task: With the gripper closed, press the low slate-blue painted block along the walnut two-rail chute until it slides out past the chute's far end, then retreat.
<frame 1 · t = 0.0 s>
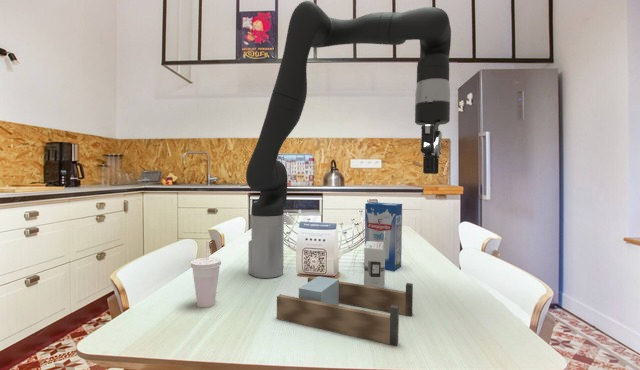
hand: (431, 173, 76), 29 cm above the table, fingers open, 8 cm apart
slate block: (319, 311, 70), on the table
ink box: (374, 292, 82), on the table
smoothie: (206, 305, 73), on the table
chute: (345, 316, 68), on the table
milk carton: (382, 267, 105), on the table
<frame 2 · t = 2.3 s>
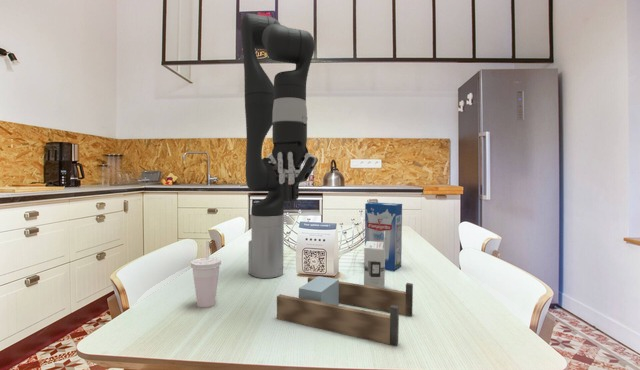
hand: (289, 201, 73), 23 cm above the table, fingers closed
nothing on the table moved.
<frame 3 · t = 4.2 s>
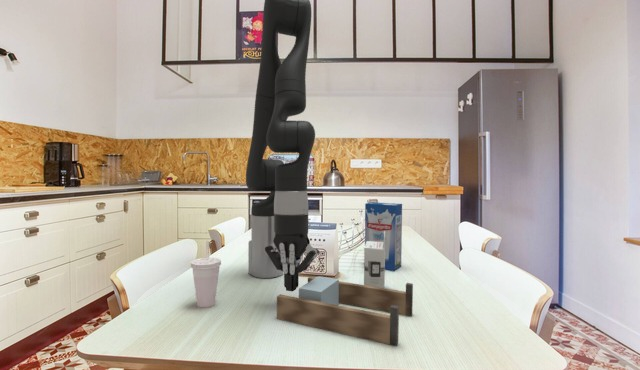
hand: (291, 290, 73), 3 cm above the table, fingers closed
nothing on the table moved.
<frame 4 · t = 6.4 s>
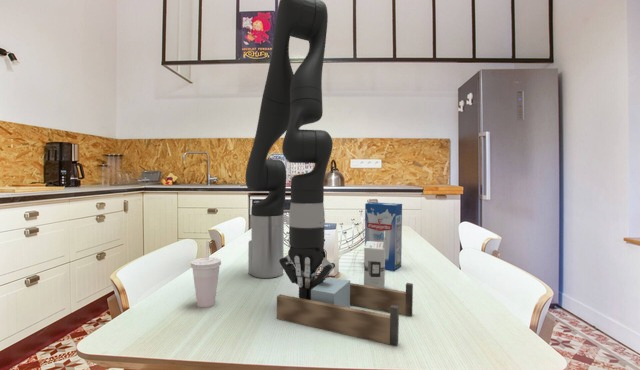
hand: (306, 303, 71), 1 cm above the table, fingers closed
slate block: (331, 313, 69), on the table, touching hand
everything else where it was.
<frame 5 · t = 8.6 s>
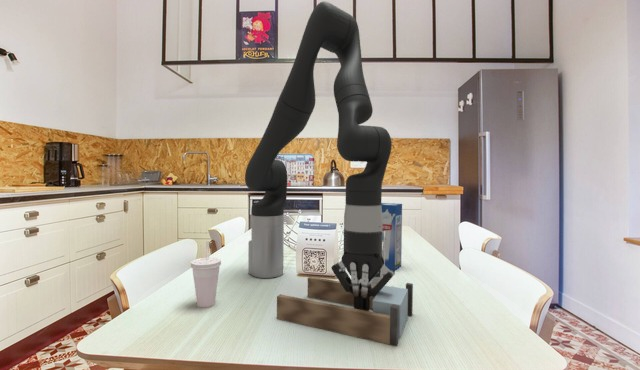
hand: (361, 314, 66), 1 cm above the table, fingers closed
slate block: (390, 325, 64), on the table, touching hand
everything else where it was.
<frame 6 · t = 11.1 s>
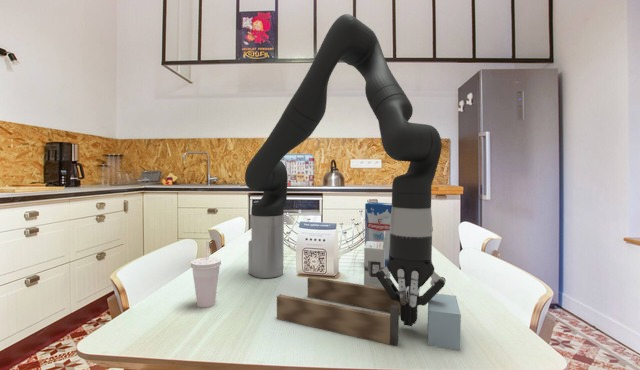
hand: (408, 324, 62), 1 cm above the table, fingers closed
slate block: (442, 335, 60), on the table, touching hand
everything else where it was.
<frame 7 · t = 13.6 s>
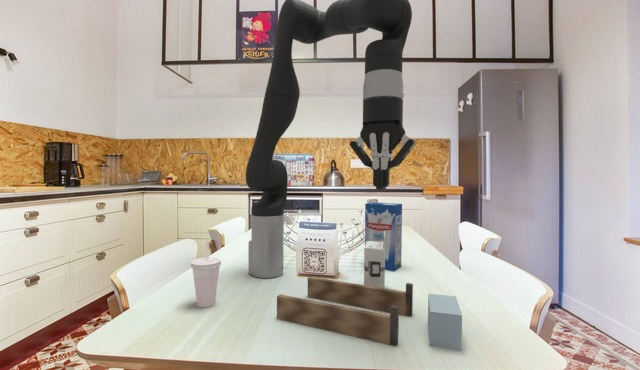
hand: (381, 189, 64), 26 cm above the table, fingers closed
slate block: (443, 336, 60), on the table
everything else where it was.
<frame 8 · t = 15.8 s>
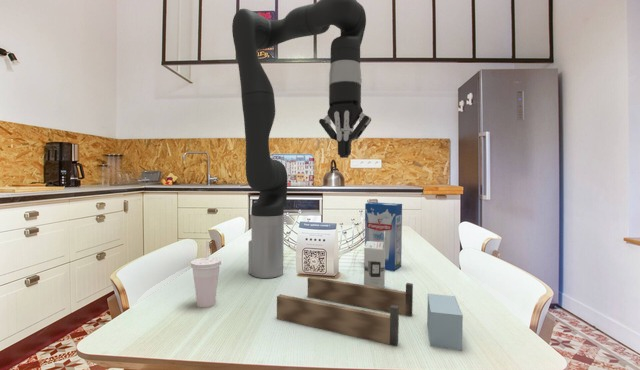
hand: (344, 157, 79), 33 cm above the table, fingers closed
nothing on the table moved.
at the end: slate block inside the target area (3.6 cm from its centre), on the table; slate block tilted 0°; slate block moved 24.7 cm from its start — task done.
